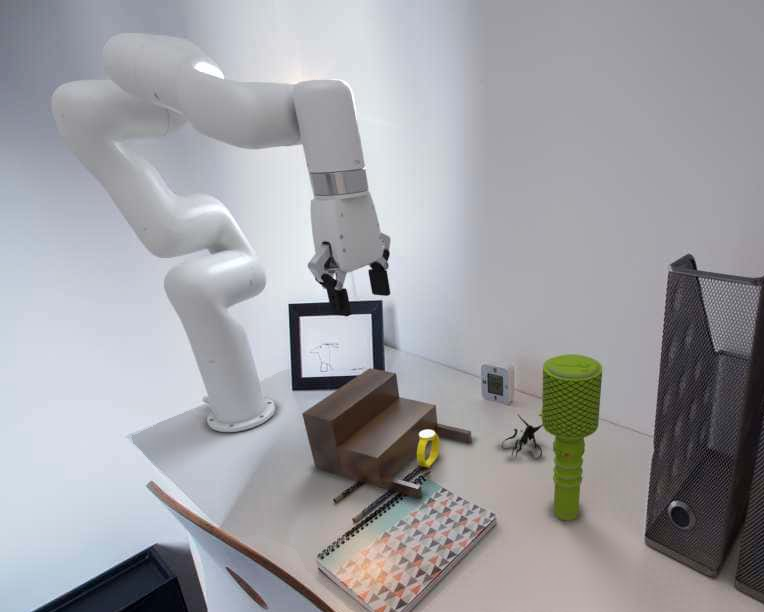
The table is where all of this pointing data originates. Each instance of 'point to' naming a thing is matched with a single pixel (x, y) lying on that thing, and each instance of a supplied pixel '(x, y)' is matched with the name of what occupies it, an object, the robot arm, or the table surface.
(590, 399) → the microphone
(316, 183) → the robot arm
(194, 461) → the table surface
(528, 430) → the creature
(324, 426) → the step shelf
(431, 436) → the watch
